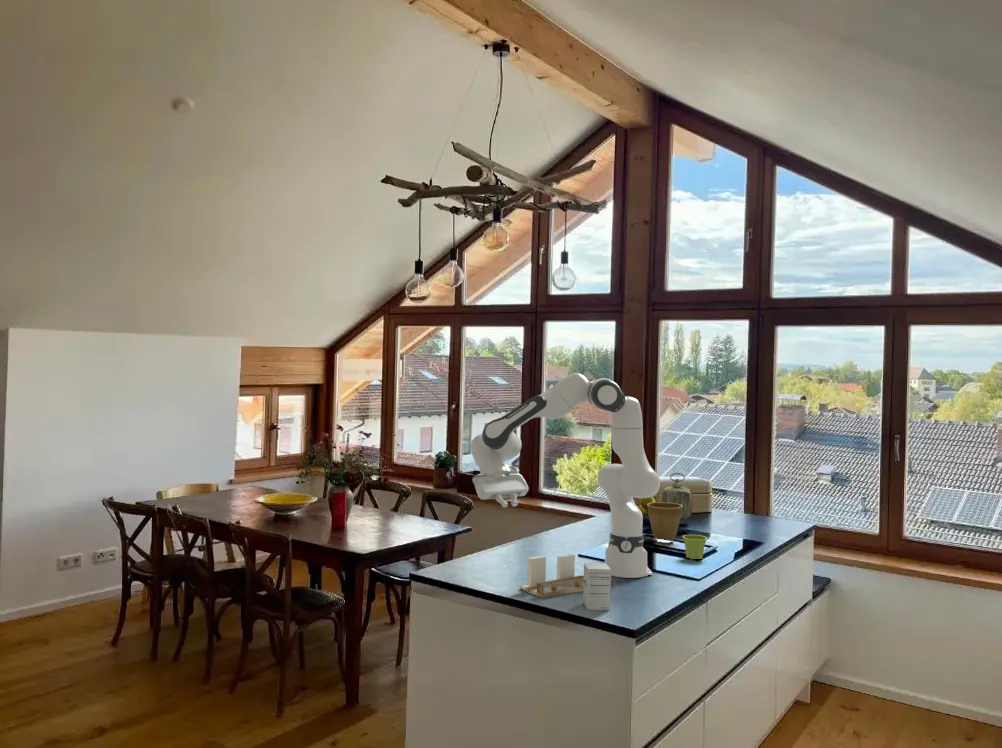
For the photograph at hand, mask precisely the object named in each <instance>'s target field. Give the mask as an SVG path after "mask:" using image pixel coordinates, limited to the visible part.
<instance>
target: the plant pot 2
mask: <svg viewBox="0 0 1002 748" xmlns="http://www.w3.org/2000/svg"><path fill="white" fill-rule="evenodd" d="M682 538H683V541H684V548H685V555H686V556H685V557H687V558H690V559H702V560H703V557H704V551H705V546H706V543H707V540H708V537H707V536H704V535H699V534H685V535H684V534H683V535H682ZM687 558H686V559H687ZM690 559H689V560H690Z"/></svg>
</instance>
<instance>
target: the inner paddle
mask: <svg viewBox="0 0 1002 748" xmlns="http://www.w3.org/2000/svg"><path fill="white" fill-rule="evenodd" d="M575 558H576V555H575V554H572V553H570V554H563V555H558V556H556V559H557V560H556V580H558V579H564V578H570V577H575V568H576V567H575V565H576V564H575V562H576V560H575Z"/></svg>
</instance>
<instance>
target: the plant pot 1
mask: <svg viewBox="0 0 1002 748" xmlns="http://www.w3.org/2000/svg"><path fill="white" fill-rule="evenodd" d="M646 506H647V512H648V513H647V514H648V517H649V523H650V527H651V531H652V533H653V537H654V539H655V538H657V539H664V540H675V538H676V536H677V533H678V529H679V526H680V521H681V519H682V518H681V512H682V505H680V504H676V503H665V502H662V501H661V502H657V501H656V502H649V503H647V505H646Z"/></svg>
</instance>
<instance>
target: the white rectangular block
mask: <svg viewBox="0 0 1002 748" xmlns="http://www.w3.org/2000/svg"><path fill="white" fill-rule="evenodd" d="M546 567H547V557H546V556H544V555H540V556H539V555H537V556H531V557H527V577H526V578H527V584H526V585H528V586H531V587H532V586H537V583H540V582H546V572H547V569H546Z"/></svg>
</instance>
